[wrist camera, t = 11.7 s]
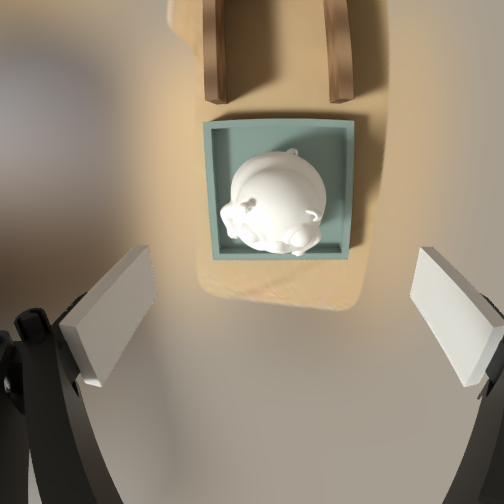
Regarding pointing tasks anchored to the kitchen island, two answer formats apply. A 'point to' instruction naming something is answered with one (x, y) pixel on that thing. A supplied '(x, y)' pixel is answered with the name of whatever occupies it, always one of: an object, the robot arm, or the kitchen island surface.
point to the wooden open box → (336, 50)
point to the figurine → (276, 203)
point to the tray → (308, 146)
